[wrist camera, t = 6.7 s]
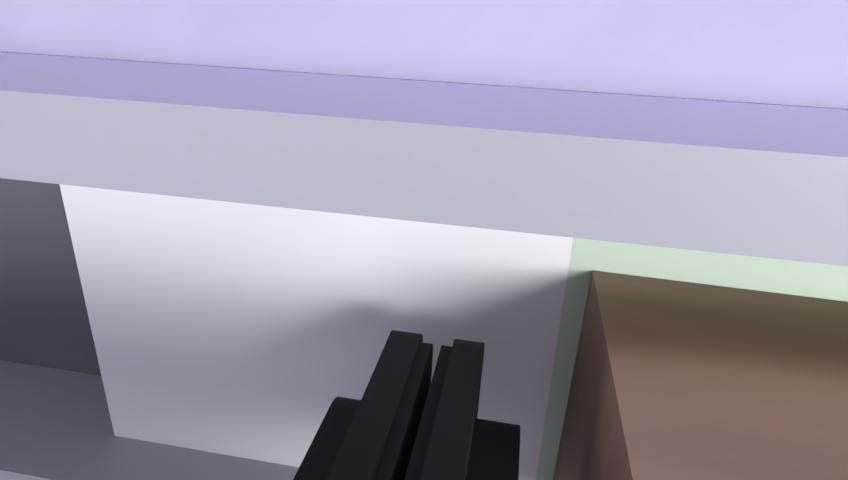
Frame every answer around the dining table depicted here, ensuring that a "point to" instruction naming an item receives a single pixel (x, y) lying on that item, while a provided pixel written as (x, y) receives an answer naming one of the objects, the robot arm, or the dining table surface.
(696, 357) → the walnut block
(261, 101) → the trap track
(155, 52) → the dining table surface
